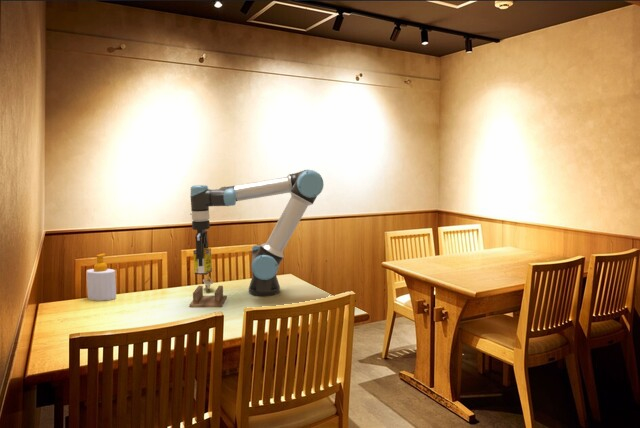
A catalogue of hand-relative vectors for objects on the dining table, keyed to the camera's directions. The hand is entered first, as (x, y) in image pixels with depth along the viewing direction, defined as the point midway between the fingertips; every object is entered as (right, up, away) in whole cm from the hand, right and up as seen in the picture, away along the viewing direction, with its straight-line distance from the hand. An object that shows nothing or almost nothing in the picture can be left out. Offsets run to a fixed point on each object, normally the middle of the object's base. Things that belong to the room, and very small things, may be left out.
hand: (203, 270), depth 210 cm
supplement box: (0, -1, 0) cm, 1 cm away
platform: (-3, -13, +20) cm, 24 cm away
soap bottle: (-48, -14, +6) cm, 50 cm away
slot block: (+2, -14, +1) cm, 15 cm away
